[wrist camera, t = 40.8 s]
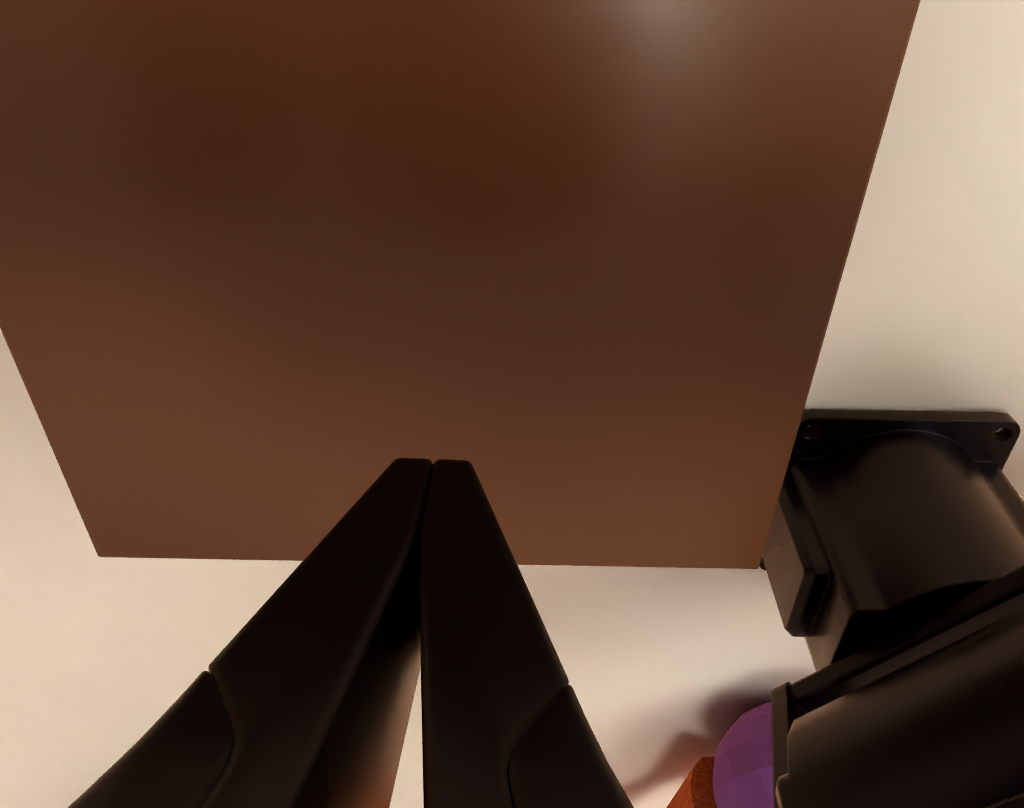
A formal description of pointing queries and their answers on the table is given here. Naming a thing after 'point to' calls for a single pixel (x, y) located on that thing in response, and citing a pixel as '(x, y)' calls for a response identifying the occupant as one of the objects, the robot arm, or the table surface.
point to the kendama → (734, 768)
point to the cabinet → (432, 258)
